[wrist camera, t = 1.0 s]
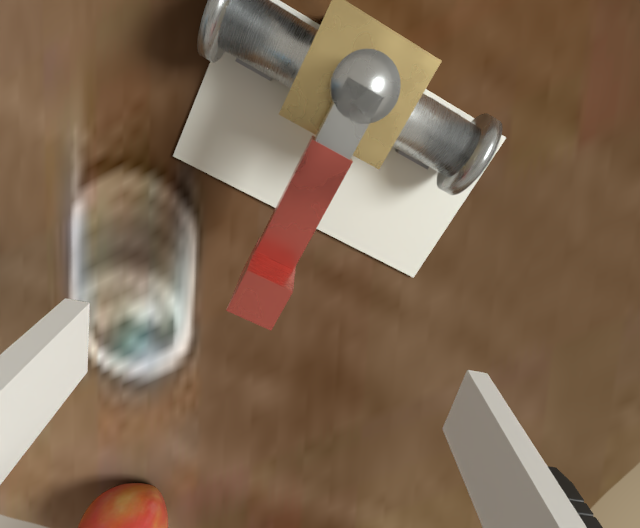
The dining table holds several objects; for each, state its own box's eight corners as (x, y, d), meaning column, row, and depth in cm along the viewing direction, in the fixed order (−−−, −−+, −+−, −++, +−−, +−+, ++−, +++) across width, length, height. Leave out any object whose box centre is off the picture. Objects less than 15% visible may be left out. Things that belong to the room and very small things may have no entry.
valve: (209, 67, 35) (174, 59, 27) (249, -34, 33) (226, -81, 24) (431, 191, 39) (466, 219, 31) (483, 109, 37) (536, 114, 28)
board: (174, 155, 38) (172, 156, 38) (244, -21, 33) (243, -22, 33) (412, 275, 43) (413, 277, 42) (504, 137, 38) (506, 137, 37)
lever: (349, 39, 26) (359, 25, 20) (404, 73, 27) (429, 68, 21) (235, 268, 32) (218, 307, 26) (284, 291, 32) (278, 333, 27)
